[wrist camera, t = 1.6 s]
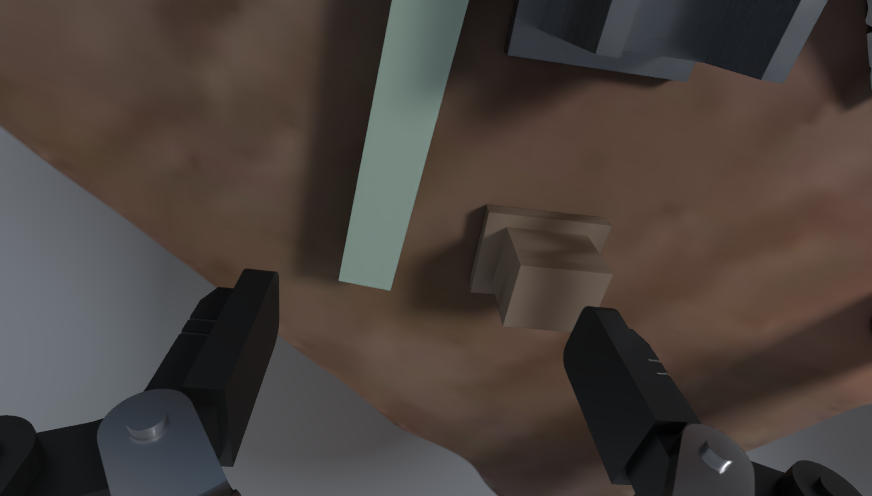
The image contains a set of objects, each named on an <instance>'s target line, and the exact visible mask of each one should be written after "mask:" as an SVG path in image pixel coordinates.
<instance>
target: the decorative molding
mask: <svg viewBox="0 0 872 496" xmlns="http://www.w3.org/2000/svg"><path fill="white" fill-rule="evenodd" d="M867 3H868V12H867V17H866V24H868V25H870V26H871V27H872V0H867ZM867 42H868V54H869V66H870V67H871V73H870V78H871V90H872V31H871V32H870V33H868V34H867Z"/></svg>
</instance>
